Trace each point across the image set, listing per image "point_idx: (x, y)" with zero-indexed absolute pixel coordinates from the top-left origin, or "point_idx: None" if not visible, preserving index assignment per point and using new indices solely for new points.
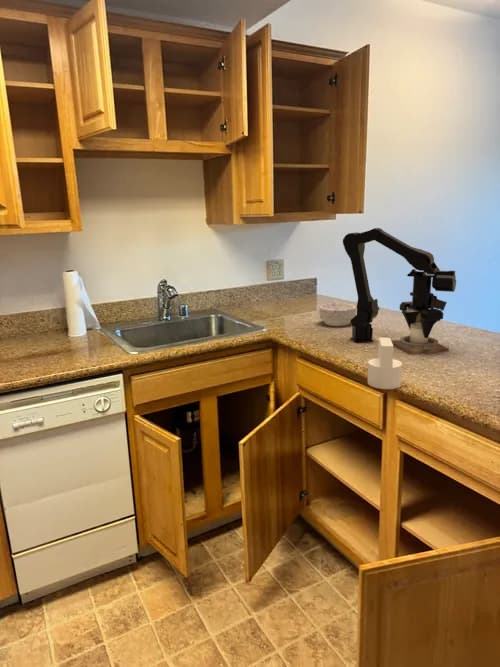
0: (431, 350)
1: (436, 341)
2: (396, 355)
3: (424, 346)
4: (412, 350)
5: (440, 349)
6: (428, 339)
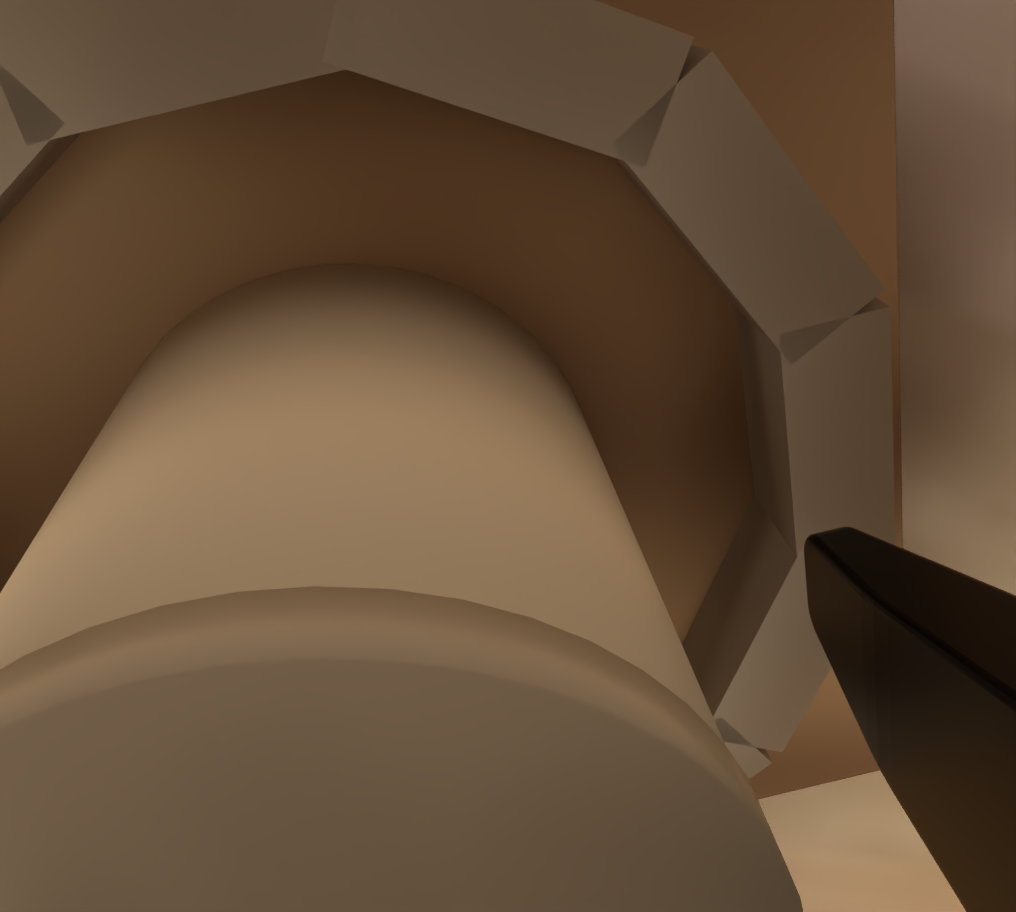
0: (891, 308)
1: (532, 43)
2: (866, 896)
3: (880, 520)
4: (847, 712)
5: (891, 29)
6: (31, 173)
